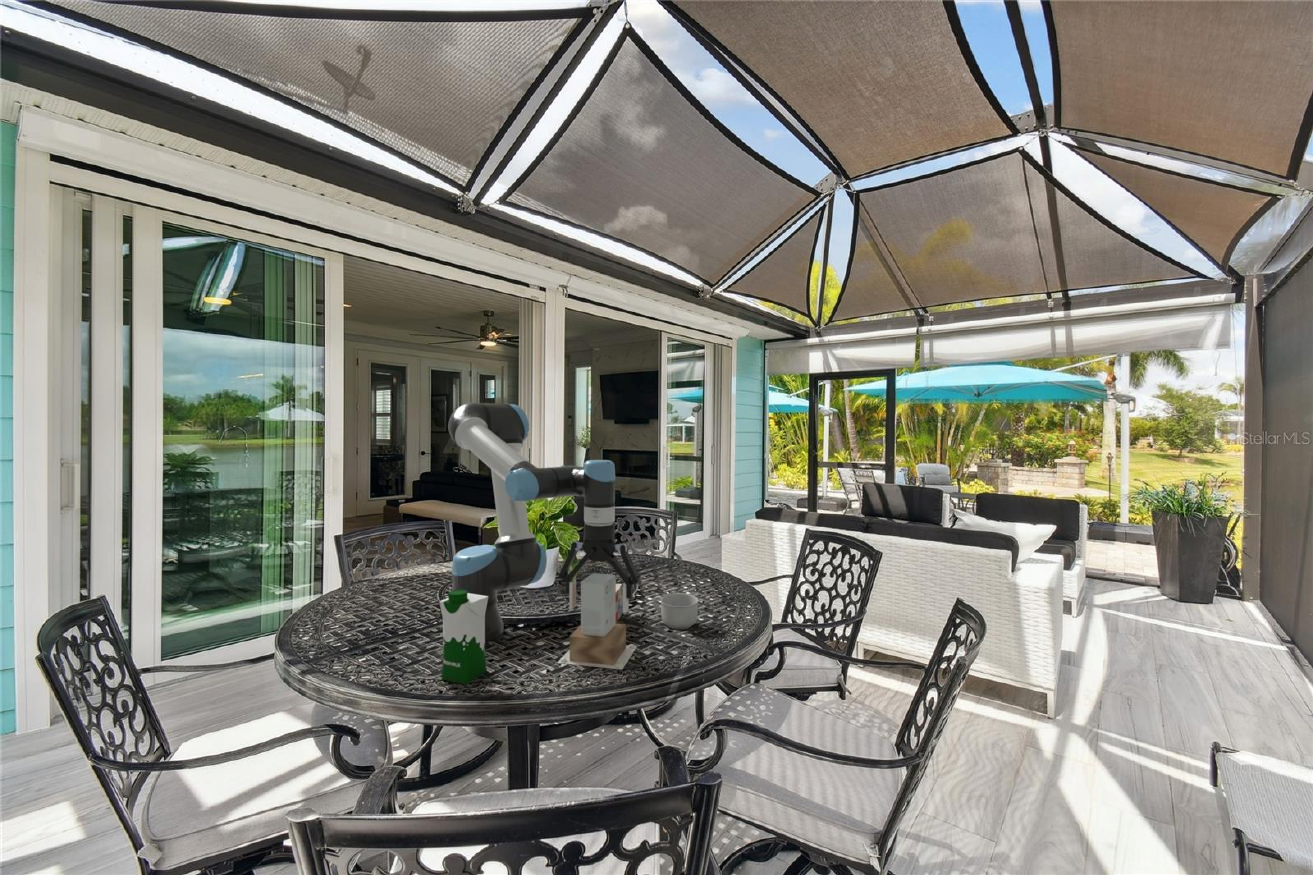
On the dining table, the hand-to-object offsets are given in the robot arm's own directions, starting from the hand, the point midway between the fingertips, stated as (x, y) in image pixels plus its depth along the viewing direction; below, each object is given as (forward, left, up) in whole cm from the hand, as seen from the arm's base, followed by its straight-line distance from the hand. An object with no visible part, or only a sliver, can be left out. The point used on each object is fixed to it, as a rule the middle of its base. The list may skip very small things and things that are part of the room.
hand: (598, 609), depth 144 cm
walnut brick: (0, 0, -11) cm, 11 cm away
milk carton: (-27, -16, -13) cm, 34 cm away
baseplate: (0, 0, -12) cm, 12 cm away
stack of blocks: (-6, +23, -13) cm, 27 cm away
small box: (0, 0, -5) cm, 5 cm away
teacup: (+14, +28, -13) cm, 34 cm away
